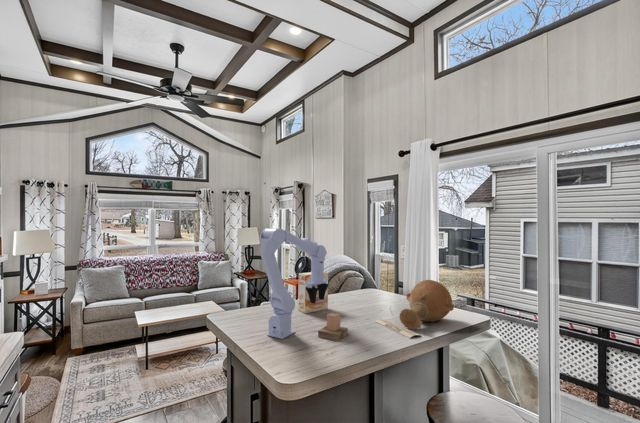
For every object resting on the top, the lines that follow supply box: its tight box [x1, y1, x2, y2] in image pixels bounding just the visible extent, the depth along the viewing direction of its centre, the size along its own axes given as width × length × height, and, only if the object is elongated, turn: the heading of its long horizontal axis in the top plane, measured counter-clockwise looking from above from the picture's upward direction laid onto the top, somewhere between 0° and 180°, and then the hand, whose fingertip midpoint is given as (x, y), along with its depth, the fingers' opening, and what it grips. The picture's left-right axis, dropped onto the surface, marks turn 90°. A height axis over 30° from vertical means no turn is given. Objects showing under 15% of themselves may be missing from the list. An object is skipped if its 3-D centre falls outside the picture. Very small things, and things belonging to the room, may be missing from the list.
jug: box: [399, 279, 454, 331], centre depth 151 cm, size 20×19×30 cm
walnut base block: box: [317, 325, 349, 342], centre depth 134 cm, size 9×9×3 cm
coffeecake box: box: [297, 271, 329, 314], centre depth 173 cm, size 15×7×20 cm, turn 126°
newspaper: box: [375, 318, 422, 339], centre depth 142 cm, size 24×7×2 cm, turn 26°
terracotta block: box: [326, 312, 341, 331], centre depth 134 cm, size 4×4×6 cm
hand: (317, 301), depth 148 cm, fingers open, 7 cm apart
